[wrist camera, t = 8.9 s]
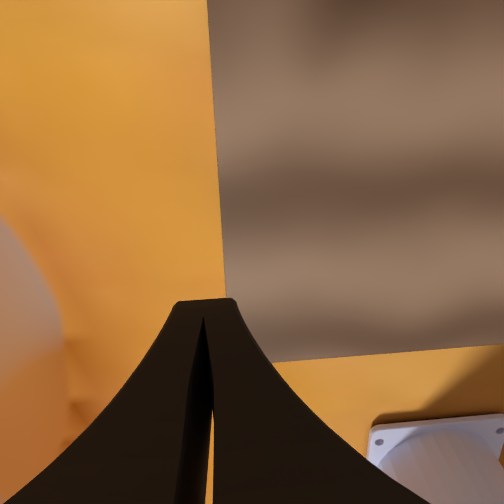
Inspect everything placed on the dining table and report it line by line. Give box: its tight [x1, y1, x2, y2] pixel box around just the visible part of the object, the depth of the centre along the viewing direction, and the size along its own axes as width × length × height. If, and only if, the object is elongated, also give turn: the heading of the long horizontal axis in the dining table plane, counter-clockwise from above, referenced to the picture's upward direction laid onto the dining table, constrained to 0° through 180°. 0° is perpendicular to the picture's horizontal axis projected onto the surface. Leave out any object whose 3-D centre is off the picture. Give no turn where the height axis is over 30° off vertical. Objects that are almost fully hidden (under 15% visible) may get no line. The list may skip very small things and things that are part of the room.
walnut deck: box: [207, 0, 504, 363], centre depth 18 cm, size 14×13×2 cm
